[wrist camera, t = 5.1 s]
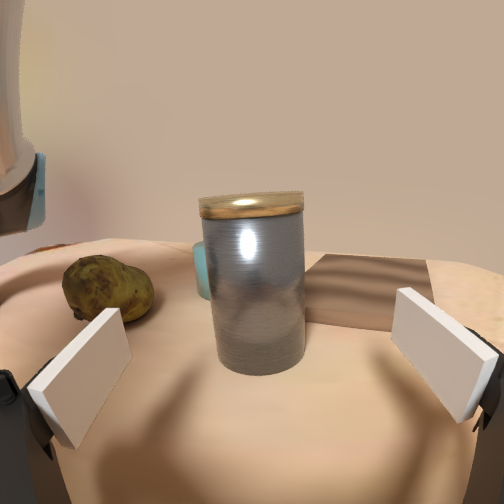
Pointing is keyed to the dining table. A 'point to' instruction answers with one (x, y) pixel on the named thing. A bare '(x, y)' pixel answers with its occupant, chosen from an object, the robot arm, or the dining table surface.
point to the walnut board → (361, 289)
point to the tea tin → (256, 279)
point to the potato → (106, 288)
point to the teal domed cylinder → (201, 270)
